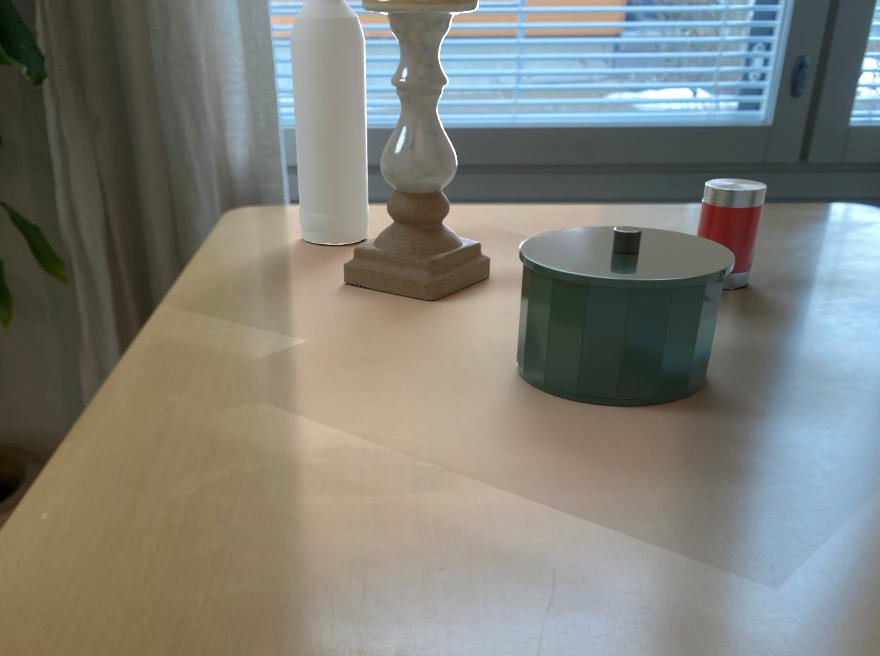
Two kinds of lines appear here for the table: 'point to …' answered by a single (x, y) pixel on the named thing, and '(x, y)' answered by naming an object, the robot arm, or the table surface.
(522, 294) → the pot
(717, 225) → the can
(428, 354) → the table surface
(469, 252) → the candle holder
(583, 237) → the pot lid
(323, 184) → the bottle
